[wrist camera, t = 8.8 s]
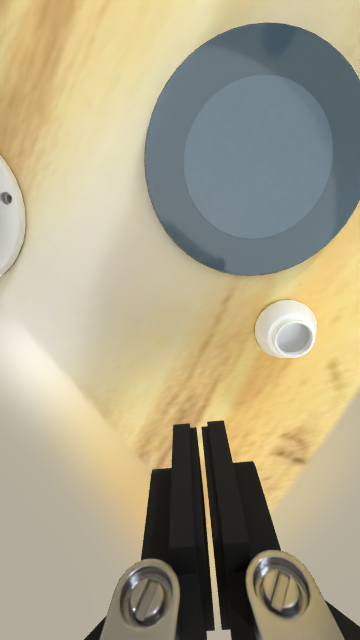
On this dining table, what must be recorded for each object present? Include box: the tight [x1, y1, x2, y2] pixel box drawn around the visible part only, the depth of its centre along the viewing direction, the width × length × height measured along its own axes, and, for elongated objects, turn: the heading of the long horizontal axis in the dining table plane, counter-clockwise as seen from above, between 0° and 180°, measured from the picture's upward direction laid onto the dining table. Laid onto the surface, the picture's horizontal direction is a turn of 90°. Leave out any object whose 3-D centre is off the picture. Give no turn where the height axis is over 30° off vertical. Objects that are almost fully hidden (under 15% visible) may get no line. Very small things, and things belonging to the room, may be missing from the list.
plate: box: [144, 23, 360, 276], centre depth 22 cm, size 16×16×1 cm
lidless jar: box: [255, 300, 317, 358], centre depth 24 cm, size 5×3×5 cm
